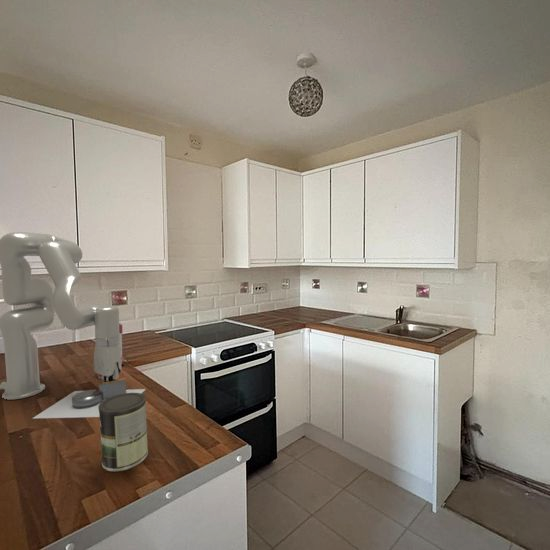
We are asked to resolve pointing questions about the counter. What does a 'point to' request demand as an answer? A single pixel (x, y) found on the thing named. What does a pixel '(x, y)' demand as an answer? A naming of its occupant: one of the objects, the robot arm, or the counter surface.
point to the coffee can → (123, 431)
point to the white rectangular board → (68, 411)
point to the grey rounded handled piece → (99, 393)
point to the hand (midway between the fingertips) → (109, 392)
